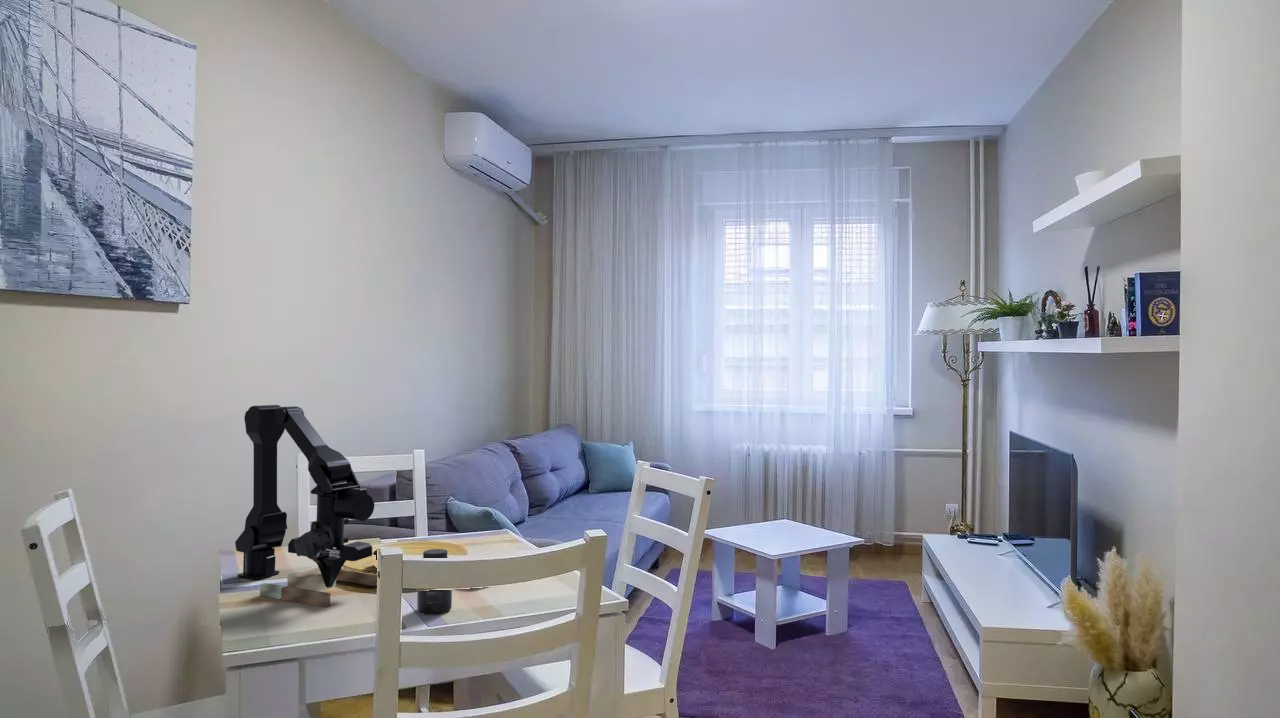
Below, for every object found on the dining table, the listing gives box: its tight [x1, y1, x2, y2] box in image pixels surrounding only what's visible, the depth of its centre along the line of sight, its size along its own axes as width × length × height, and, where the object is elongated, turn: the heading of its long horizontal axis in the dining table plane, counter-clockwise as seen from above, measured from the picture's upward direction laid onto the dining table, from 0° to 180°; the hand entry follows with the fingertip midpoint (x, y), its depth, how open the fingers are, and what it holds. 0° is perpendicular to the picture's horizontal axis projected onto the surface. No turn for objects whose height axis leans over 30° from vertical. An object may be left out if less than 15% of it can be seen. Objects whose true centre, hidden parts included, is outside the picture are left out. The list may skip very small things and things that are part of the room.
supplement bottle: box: [416, 548, 453, 615], centre depth 156 cm, size 7×7×12 cm
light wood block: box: [286, 566, 337, 592], centre depth 169 cm, size 6×8×4 cm
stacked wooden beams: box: [259, 565, 377, 608], centre depth 168 cm, size 18×17×2 cm
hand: (329, 587), depth 167 cm, fingers closed
